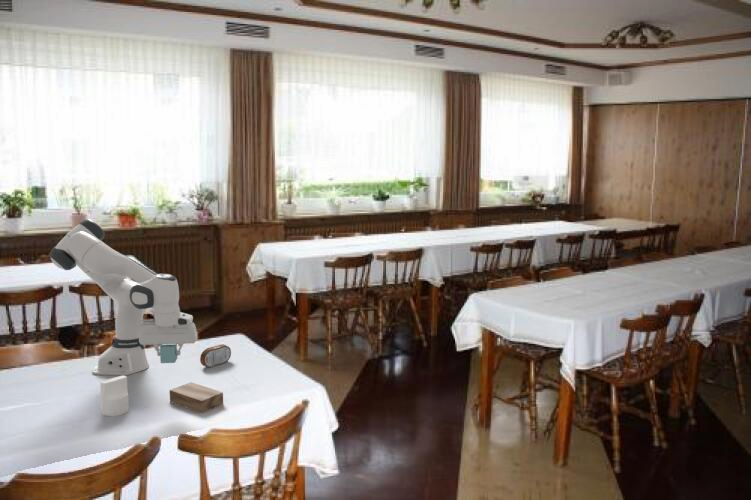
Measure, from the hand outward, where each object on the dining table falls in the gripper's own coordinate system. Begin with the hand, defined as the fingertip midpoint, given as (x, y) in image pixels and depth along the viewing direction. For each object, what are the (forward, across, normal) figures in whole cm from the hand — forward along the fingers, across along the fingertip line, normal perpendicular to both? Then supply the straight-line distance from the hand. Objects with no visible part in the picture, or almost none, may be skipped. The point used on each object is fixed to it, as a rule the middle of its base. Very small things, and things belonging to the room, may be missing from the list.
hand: (169, 355), depth 231 cm
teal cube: (+2, 0, 0) cm, 2 cm away
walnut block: (+20, +9, +1) cm, 22 cm away
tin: (+20, +11, +44) cm, 49 cm away
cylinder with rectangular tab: (+19, -19, -4) cm, 27 cm away
